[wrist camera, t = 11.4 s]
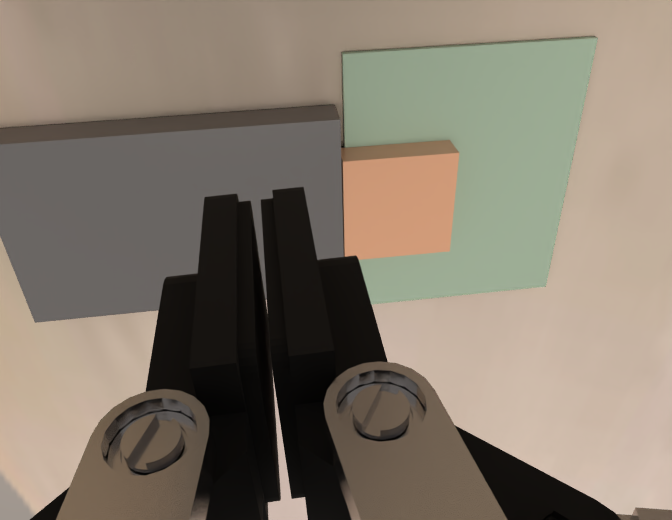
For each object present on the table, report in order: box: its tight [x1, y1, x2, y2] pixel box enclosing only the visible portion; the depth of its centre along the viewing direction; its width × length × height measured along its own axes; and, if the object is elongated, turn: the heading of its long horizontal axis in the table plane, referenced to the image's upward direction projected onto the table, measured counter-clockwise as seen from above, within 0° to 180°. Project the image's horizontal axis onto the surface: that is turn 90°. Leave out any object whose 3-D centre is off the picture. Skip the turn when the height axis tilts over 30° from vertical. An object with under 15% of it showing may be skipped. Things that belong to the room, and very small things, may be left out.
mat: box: [342, 36, 598, 304], centre depth 39 cm, size 18×15×1 cm
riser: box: [0, 105, 344, 322], centre depth 37 cm, size 12×20×2 cm, turn 92°
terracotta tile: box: [341, 140, 459, 260], centre depth 38 cm, size 7×7×2 cm
